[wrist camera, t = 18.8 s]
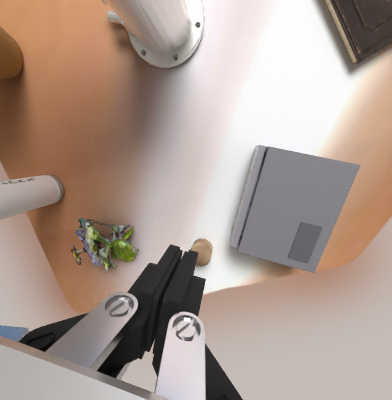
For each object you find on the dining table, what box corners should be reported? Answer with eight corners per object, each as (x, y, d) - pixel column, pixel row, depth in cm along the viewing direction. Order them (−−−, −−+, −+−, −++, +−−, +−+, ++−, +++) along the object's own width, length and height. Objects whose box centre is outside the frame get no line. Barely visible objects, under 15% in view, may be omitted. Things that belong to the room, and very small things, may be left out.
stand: (191, 253, 42) (187, 262, 38) (195, 236, 40) (191, 244, 37) (209, 258, 41) (207, 268, 38) (214, 241, 40) (212, 250, 37)
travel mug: (52, 208, 45) (-81, 251, 26) (34, 183, 44) (-116, 208, 25) (70, 196, 43) (-57, 232, 24) (53, 169, 43) (-94, 185, 24)
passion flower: (116, 228, 50) (62, 222, 40) (144, 209, 45) (91, 198, 35) (120, 274, 45) (61, 280, 36) (153, 259, 40) (94, 261, 31)
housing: (237, 235, 39) (238, 252, 32) (262, 147, 34) (269, 146, 28) (300, 252, 37) (314, 273, 31) (335, 162, 33) (361, 165, 26)
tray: (231, 235, 38) (230, 246, 34) (255, 145, 34) (259, 145, 29) (296, 252, 37) (304, 266, 32) (331, 161, 32) (346, 163, 28)
